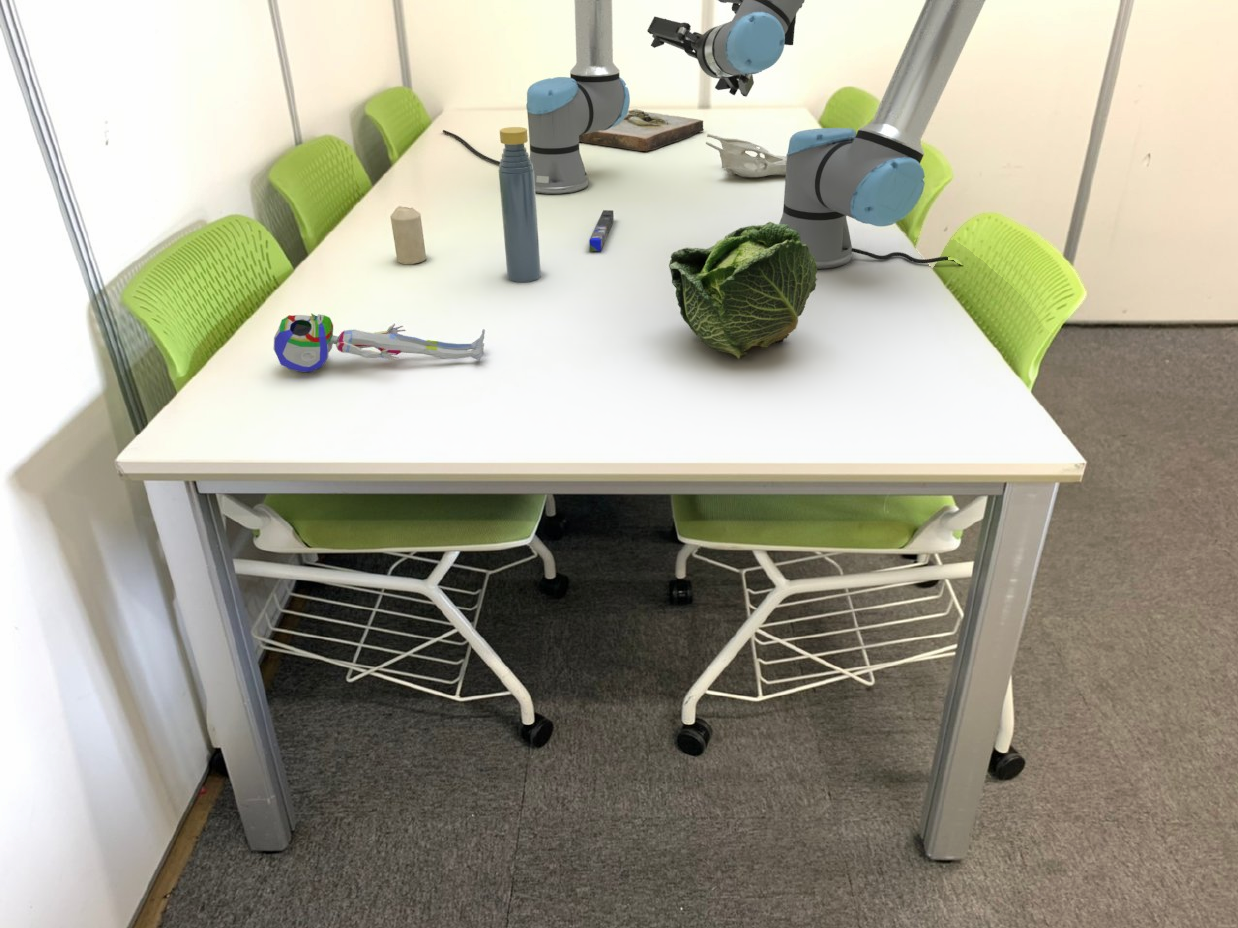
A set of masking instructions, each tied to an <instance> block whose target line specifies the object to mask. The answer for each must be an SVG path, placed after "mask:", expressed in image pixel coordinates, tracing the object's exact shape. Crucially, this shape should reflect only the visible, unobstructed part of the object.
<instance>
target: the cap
mask: <svg viewBox="0 0 1238 928" xmlns="http://www.w3.org/2000/svg"><path fill="white" fill-rule="evenodd" d="M499 139H500V140H499V141H500V144H503V145H505V144H508V145H517V144H523V143H524V144H526V143H528V142H529V141H528V140H529V137H528V129H527V128H526V127H521V126H508V127H504V128H501V129H499Z"/></svg>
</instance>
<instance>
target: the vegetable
mask: <svg viewBox="0 0 1238 928" xmlns="http://www.w3.org/2000/svg"><path fill="white" fill-rule="evenodd" d="M800 241H801V240H800V237H799V234H798V232H797V231H794V230H792V229H790V228H788V224H779V223H775V222H771V221H768V222H766V223H765V224H760V225H758V224H757V225H753V224H752V225H748V226H744V227H739V228H738V229H736V230H733V231H732V232H731V233H728V234H726V235H725V236H724V238H723V239H719V240H718V241H716V243H715V244H714V245H712V246H711V247H708V248H700V247H694V248H693V247H685V248H681V249H678V250H676V251H674V252H672V253H671V255H670V260H669V263H668V269H669V271H670V275H671V284H672V285H673V287H674V288H675V289H676V290H675V297H676V301H677V306H679V309H680V312H679V314H680V316H681V317H682V319H683V321H684V322H685V323H686V325H688V327H689V329H690V330H691V331H692V333H693V334H695V335H696V337H698V338H700V339H701V340H702V342H704V343H705V344H706V345H707V346H709V347H710V348H711V349H713V350H715V351H718V352H722V353H726V354H731V355H733V356H735V357H736V358H737V359H739V360H740V359H741V357H742V356H748V354H747V352H745V351H748V350H749V349H750V348H752V347H755V346H756V347H757V346H758V347H762V348H768V347H769V346H771V344H774V343H783V342H784V340H786V339H788V337H789V336H790V334H791V333H793V332H794V330H796V329H797V325H798V323H799V317H800V316H802V314H803V312H804V310H805V309H806V308H805V307H806V304H807V300H808V299H809V297H810V294H811V293H812V292H813V291H815V290H816V286H817V283H816V282H817V281H818V278H817V273H818V272H817V271H818V269H817V268H818V267H817V265H816V263H815V258H814V257H813V256H812V255H811V253H810V252H809V248H808V247H807V245H806V244H801V242H800Z"/></svg>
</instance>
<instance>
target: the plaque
mask: <svg viewBox="0 0 1238 928" xmlns="http://www.w3.org/2000/svg"><path fill="white" fill-rule="evenodd" d="M704 130H705V129H704V120H702V119H698V118H693V117H685V116H679V115H669V114H663V113H659V112H650V111H644V110H642V109H637V108H636V109H635V108H634V109H630V110H629V109H628V112H627V115H626V117H625V118H624V119H623V120H622V122H621V123H620V124H618V125H617V126H614V127H611V128H609V129H607V130H604V131H601V130H600V131H596V132H592V133H587V134H583V135H579V143H580V142H581V143H586V144H593V145H597V146H598V145H599V146H607V147H612V148H620V149H625V150H632V151H640V152H648V151H654V150H656V149H659V148H662V147H663V146H664V147H665V146H667V145H670V144H672V143H676V142H680V141H682V140H684V139H687V138H691V137H692V136H694V135H696V134H698V133H700V132H704Z"/></svg>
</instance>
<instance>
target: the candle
mask: <svg viewBox="0 0 1238 928" xmlns="http://www.w3.org/2000/svg"><path fill="white" fill-rule="evenodd" d="M390 222H391V230H392V235H393V242H394V249H395V255H396V256H395V257H396V260H397V262H398V263H399V264H405V265H413V264H419V263H422V262H424V261H426V259H427V253H426V244H425V239H424V231H423V222H422V215H421V213H420V211H417V210H416V209H415V208H414V207H407V206H402V205H399V206H397V207H395V209H394V211H393V212H392V213H391V215H390Z"/></svg>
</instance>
